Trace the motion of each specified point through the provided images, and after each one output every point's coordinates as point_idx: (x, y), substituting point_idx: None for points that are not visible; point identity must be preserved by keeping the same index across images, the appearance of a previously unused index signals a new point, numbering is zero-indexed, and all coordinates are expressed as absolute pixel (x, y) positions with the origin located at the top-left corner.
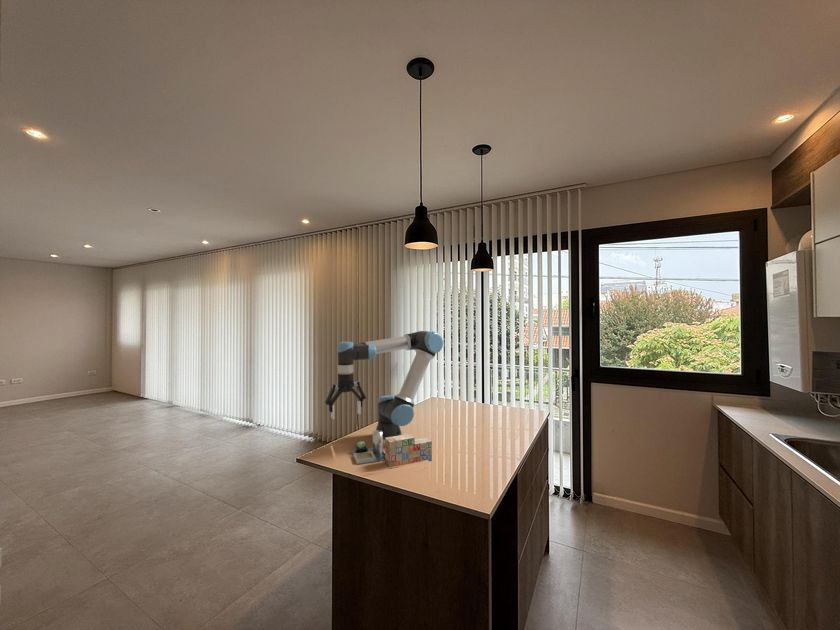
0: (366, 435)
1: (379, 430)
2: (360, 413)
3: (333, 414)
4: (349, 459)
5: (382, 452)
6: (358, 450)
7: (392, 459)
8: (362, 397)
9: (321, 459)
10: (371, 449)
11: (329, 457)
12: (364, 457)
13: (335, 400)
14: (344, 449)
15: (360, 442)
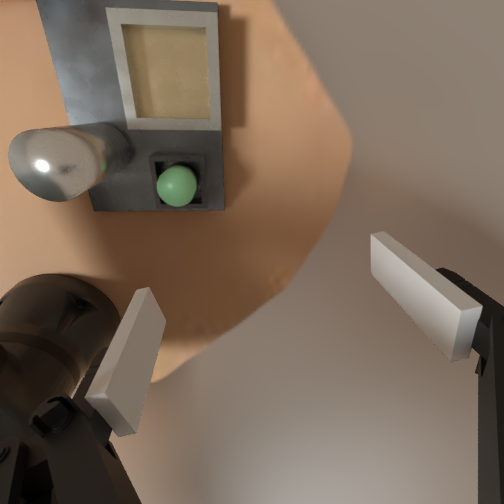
0: None
1: (38, 188)
2: (137, 293)
3: (401, 251)
4: (239, 128)
5: None
6: (194, 155)
7: None
8: (34, 467)
9: (344, 170)
10: (134, 189)
11: (312, 180)
12: (171, 96)
13: (498, 374)
14: (244, 241)
15: (179, 190)
